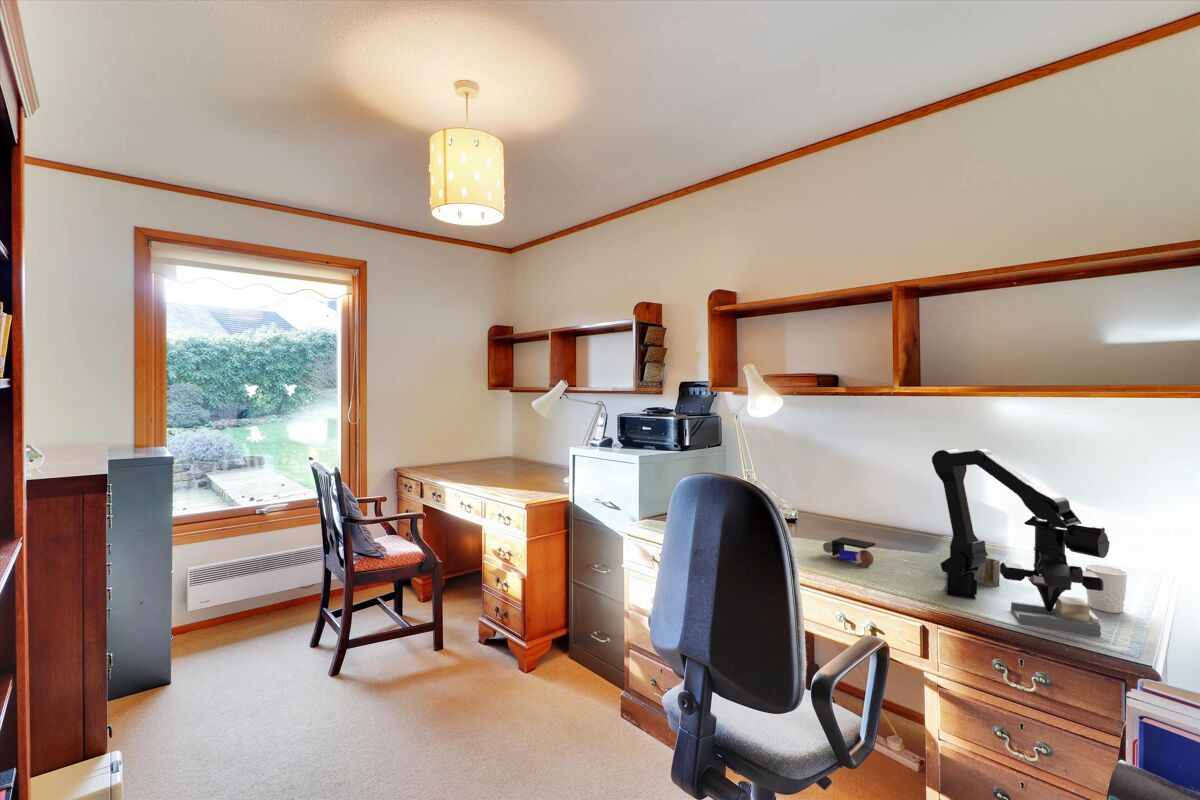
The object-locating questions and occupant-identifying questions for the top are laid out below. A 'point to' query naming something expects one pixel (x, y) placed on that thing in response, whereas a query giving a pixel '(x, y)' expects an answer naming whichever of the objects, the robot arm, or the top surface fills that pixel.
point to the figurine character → (838, 549)
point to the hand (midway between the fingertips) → (1048, 611)
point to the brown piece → (988, 573)
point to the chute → (1053, 619)
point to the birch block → (1072, 609)
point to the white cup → (1108, 589)
